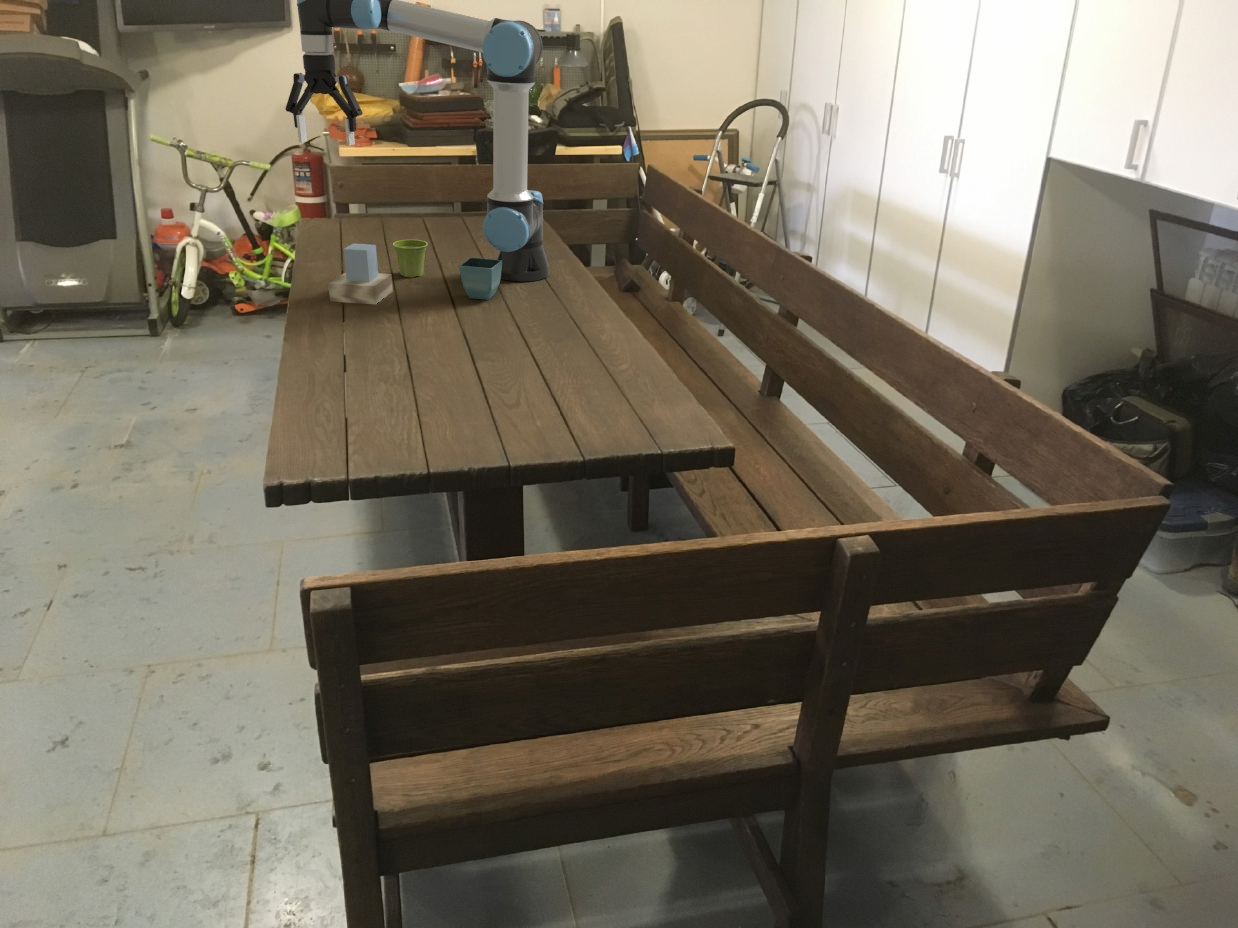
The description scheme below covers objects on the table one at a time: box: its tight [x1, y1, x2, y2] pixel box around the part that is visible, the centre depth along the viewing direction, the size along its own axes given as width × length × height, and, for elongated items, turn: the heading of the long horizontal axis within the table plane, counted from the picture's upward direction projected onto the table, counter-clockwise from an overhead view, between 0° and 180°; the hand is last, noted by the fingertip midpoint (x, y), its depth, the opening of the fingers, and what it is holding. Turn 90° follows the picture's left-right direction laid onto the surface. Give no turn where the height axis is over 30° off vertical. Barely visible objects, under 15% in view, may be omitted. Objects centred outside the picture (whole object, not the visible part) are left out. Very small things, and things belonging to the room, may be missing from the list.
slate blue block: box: [343, 243, 379, 282], centre depth 249 cm, size 6×6×8 cm
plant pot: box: [392, 239, 429, 279], centre depth 270 cm, size 9×9×9 cm
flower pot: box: [458, 257, 502, 301], centre depth 252 cm, size 9×9×9 cm
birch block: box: [327, 271, 394, 305], centre depth 251 cm, size 12×12×5 cm
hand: (326, 143), depth 252 cm, fingers open, 13 cm apart
